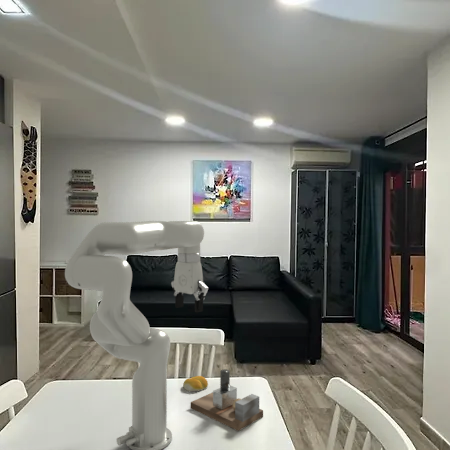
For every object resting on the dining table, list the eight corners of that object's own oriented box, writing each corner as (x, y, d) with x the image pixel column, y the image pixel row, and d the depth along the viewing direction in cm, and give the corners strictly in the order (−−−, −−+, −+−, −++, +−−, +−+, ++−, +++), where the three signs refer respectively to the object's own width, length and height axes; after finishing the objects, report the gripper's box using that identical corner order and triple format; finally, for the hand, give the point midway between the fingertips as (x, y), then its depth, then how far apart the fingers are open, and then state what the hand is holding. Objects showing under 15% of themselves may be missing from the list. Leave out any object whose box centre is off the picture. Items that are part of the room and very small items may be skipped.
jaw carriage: (222, 409, 126) (222, 375, 126) (212, 405, 129) (213, 372, 128) (236, 402, 131) (236, 369, 131) (227, 398, 134) (227, 366, 134)
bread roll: (211, 387, 150) (211, 376, 150) (194, 394, 143) (194, 383, 143) (196, 380, 155) (196, 370, 155) (179, 388, 149) (179, 377, 149)
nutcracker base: (238, 431, 118) (238, 407, 118) (190, 408, 132) (190, 387, 132) (263, 416, 127) (263, 394, 127) (215, 396, 141) (215, 376, 141)
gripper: (164, 257, 137) (163, 307, 137) (198, 261, 125) (198, 315, 125) (180, 256, 142) (180, 304, 143) (215, 259, 131) (215, 311, 131)
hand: (188, 309), depth 134 cm, fingers open, 9 cm apart
